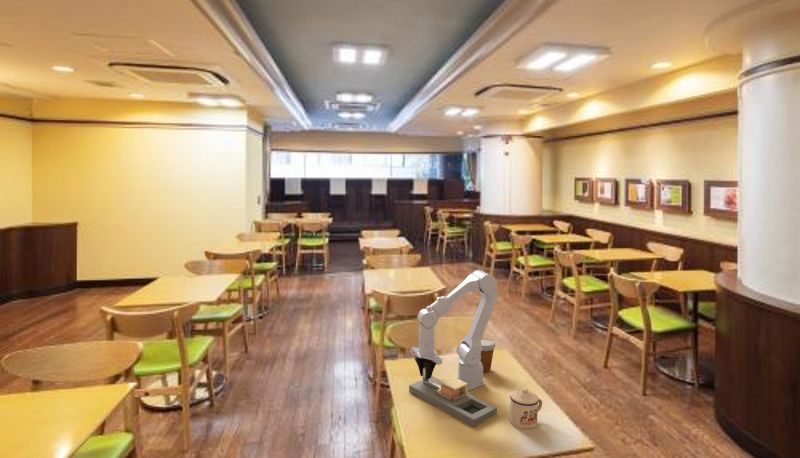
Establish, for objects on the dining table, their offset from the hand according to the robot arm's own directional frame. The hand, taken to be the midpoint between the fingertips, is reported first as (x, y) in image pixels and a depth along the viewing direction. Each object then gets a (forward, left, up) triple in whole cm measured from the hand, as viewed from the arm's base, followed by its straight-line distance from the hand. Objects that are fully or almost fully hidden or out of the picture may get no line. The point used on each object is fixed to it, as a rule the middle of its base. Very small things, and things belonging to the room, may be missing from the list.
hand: (425, 376), depth 178 cm
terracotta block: (0, +13, -2) cm, 13 cm away
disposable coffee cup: (-30, +3, -5) cm, 31 cm away
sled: (0, +8, -2) cm, 8 cm away
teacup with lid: (-10, +38, -5) cm, 39 cm away
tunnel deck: (0, +13, -5) cm, 13 cm away
